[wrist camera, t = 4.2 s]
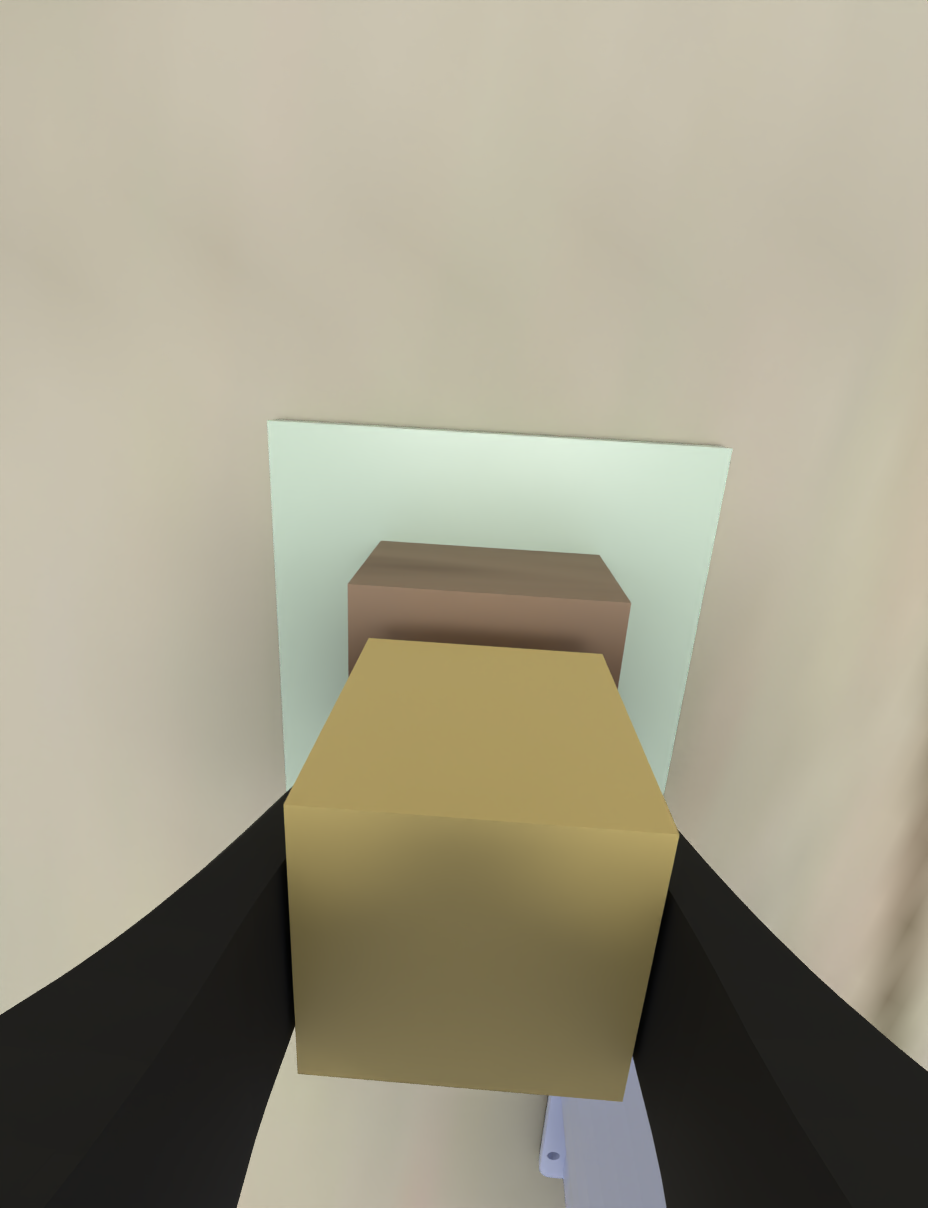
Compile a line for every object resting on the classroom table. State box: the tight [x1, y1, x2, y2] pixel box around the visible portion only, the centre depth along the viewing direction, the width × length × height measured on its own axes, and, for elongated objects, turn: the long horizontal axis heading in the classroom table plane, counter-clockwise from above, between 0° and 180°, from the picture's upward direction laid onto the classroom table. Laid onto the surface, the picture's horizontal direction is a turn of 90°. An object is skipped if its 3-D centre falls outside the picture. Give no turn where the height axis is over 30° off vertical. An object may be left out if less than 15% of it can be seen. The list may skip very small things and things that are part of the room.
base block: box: [348, 541, 631, 689], centre depth 16 cm, size 6×6×4 cm
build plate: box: [267, 419, 732, 796], centre depth 18 cm, size 12×12×1 cm
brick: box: [284, 638, 679, 1102], centre depth 10 cm, size 4×4×5 cm
